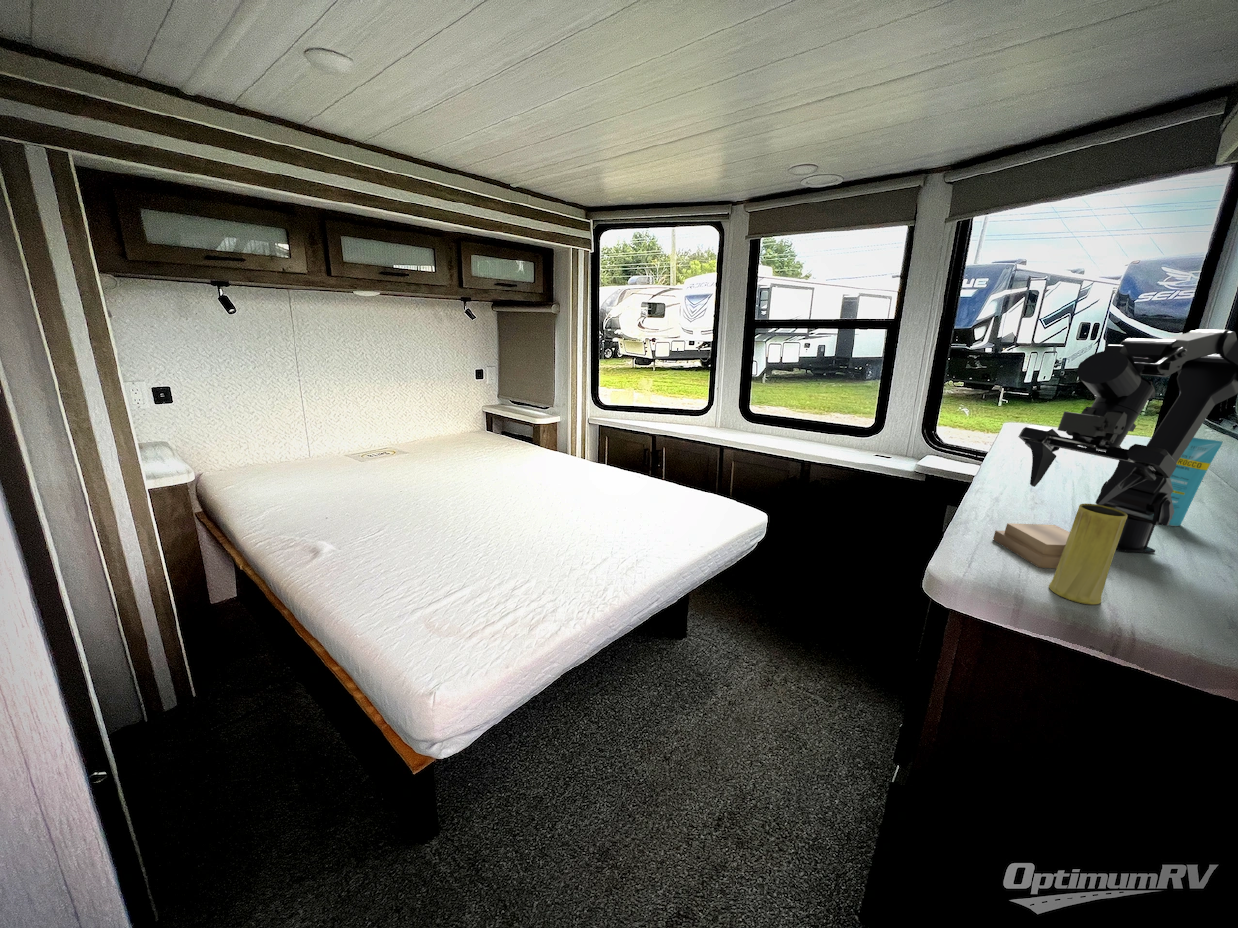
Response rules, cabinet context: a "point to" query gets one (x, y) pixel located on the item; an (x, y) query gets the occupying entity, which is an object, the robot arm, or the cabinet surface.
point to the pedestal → (1034, 542)
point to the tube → (1190, 475)
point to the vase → (1088, 553)
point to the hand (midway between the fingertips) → (1063, 494)
